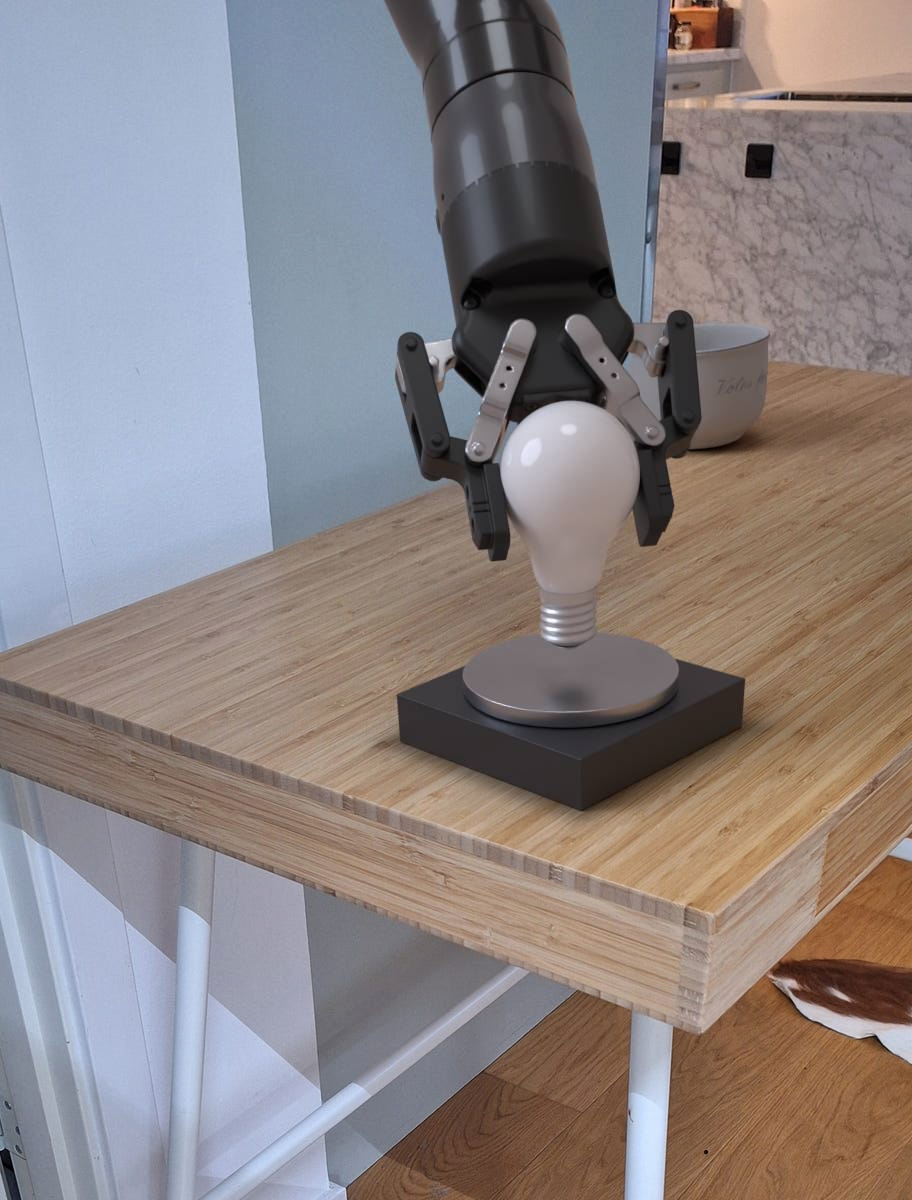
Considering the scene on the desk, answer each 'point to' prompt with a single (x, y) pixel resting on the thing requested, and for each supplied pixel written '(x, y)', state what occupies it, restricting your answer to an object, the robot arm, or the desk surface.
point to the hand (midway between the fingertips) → (577, 544)
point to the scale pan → (571, 681)
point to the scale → (571, 736)
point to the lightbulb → (569, 506)
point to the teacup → (720, 380)
